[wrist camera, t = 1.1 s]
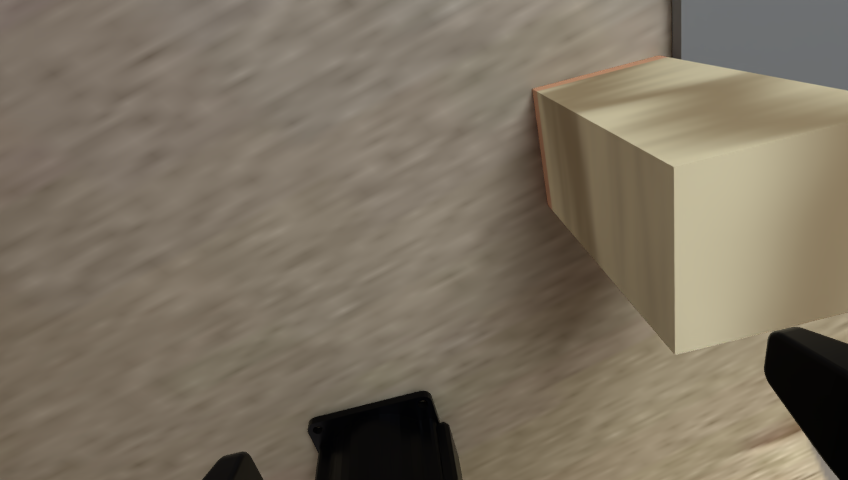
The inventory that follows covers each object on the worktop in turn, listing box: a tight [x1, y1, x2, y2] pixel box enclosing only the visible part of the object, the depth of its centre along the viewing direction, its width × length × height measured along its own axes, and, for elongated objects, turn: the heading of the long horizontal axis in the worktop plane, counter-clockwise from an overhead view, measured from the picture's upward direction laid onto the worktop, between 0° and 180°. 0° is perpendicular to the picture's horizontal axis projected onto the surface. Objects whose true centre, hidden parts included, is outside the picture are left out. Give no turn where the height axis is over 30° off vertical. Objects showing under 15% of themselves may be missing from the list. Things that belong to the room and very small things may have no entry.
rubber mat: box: [672, 0, 848, 91], centre depth 19 cm, size 11×14×1 cm
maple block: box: [532, 56, 848, 355], centre depth 15 cm, size 5×5×10 cm
